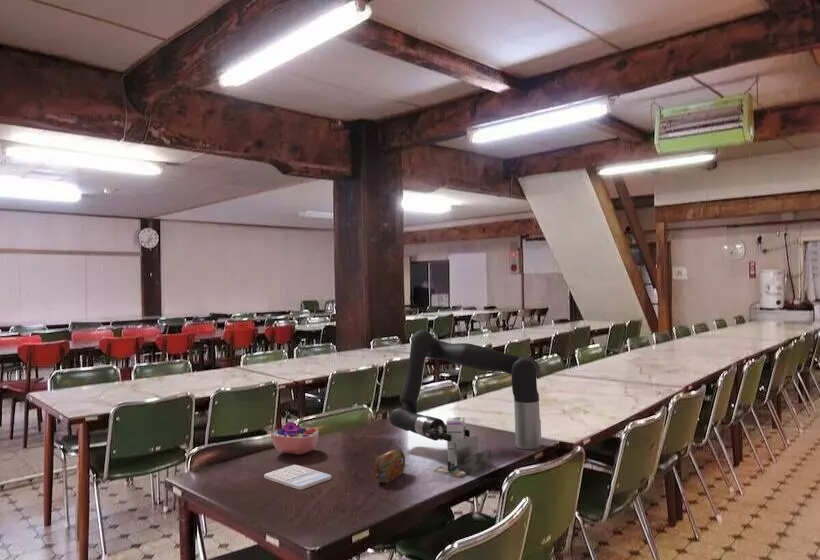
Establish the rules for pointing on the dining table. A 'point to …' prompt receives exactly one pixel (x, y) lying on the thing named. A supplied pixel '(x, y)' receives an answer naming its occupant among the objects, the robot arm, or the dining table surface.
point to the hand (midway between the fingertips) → (459, 435)
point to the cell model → (295, 438)
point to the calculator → (297, 477)
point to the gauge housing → (469, 464)
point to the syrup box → (454, 434)
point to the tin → (389, 466)
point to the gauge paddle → (464, 451)
